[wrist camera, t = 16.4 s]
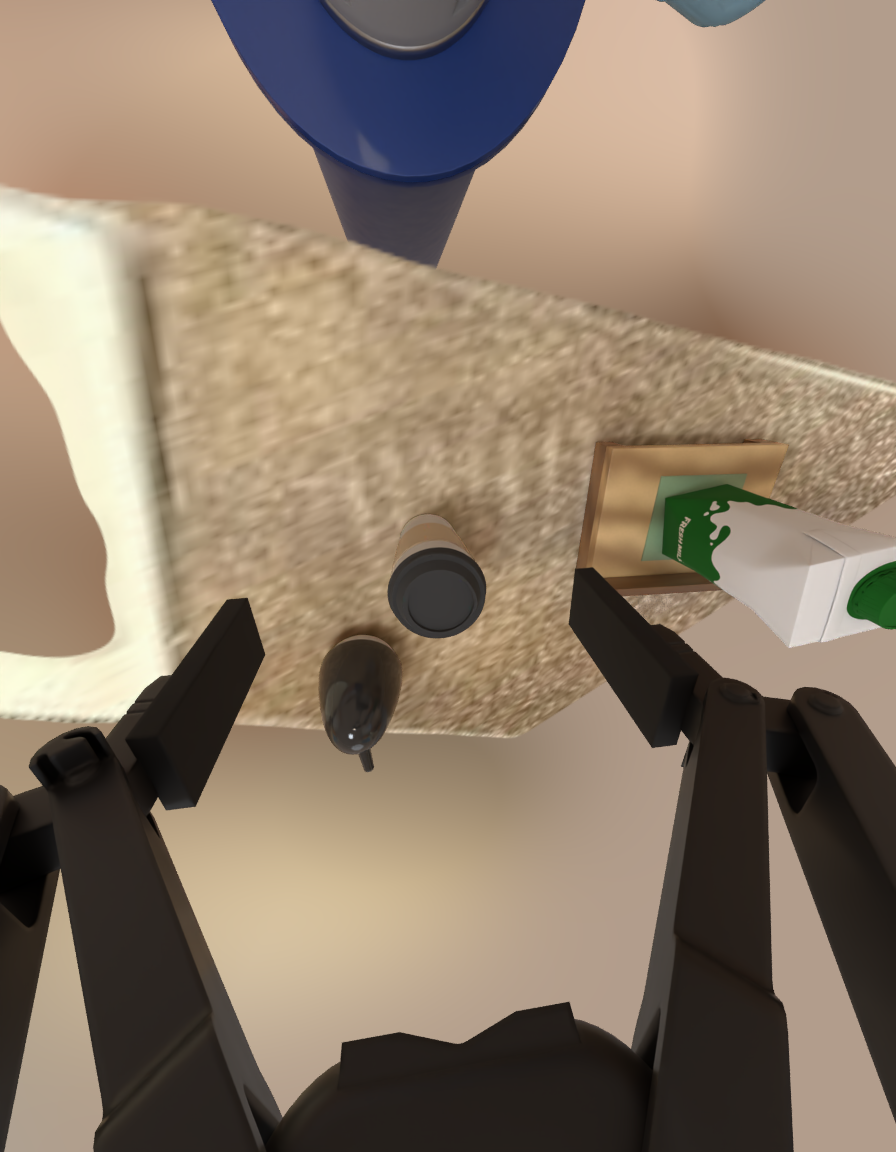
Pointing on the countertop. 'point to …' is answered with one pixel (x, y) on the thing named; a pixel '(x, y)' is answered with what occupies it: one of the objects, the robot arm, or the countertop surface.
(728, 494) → the soya milk
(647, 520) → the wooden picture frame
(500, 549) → the countertop surface
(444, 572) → the coffee cup
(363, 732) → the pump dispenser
